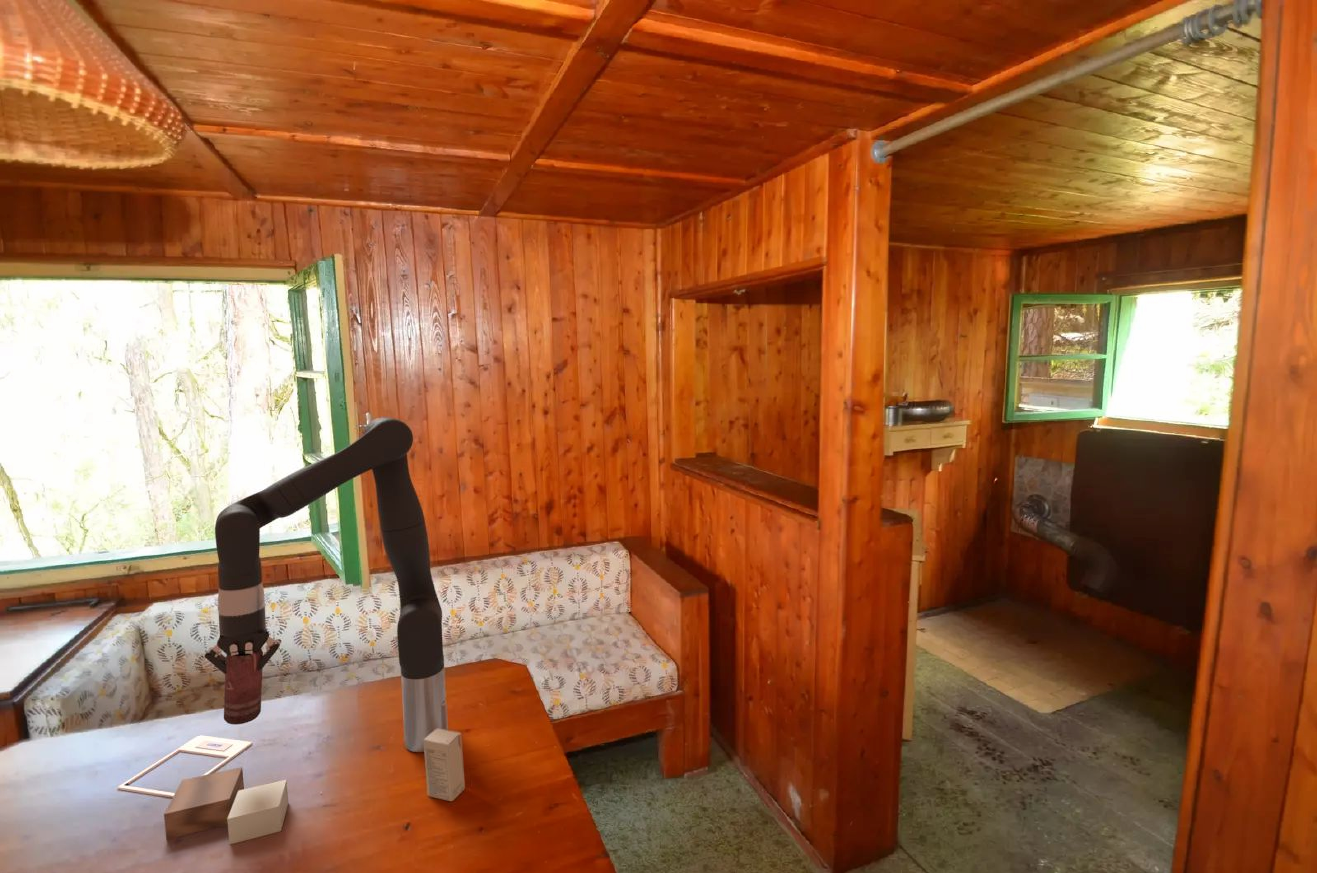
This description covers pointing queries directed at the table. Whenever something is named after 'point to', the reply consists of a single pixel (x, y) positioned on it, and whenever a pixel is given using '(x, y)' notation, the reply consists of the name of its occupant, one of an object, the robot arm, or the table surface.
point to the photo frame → (196, 746)
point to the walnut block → (202, 802)
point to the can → (242, 688)
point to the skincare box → (444, 764)
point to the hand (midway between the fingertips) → (246, 690)
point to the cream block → (258, 811)
